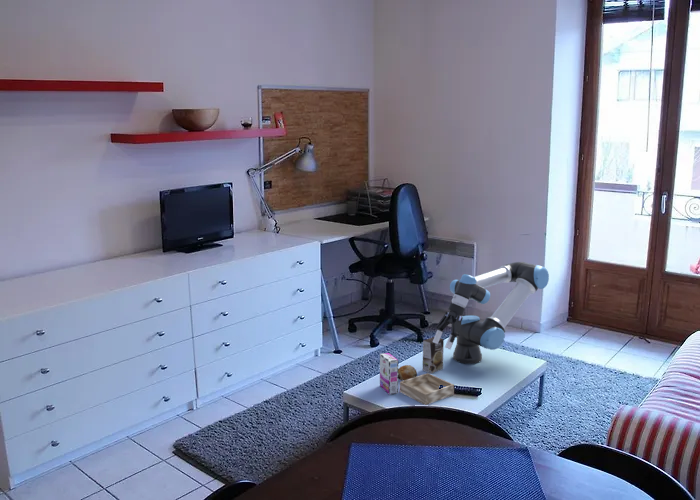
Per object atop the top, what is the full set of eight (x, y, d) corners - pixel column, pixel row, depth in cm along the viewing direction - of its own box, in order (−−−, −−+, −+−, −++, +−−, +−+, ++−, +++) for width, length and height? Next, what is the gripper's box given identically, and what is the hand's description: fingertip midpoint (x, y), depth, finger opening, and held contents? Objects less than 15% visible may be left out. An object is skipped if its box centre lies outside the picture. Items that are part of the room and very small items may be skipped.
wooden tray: (427, 382, 298) (427, 372, 297) (453, 394, 284) (454, 384, 283) (399, 392, 287) (399, 382, 287) (425, 405, 273) (425, 394, 272)
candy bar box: (398, 393, 286) (398, 360, 283) (389, 395, 284) (389, 361, 281) (388, 384, 296) (388, 352, 293) (379, 386, 295) (379, 353, 291)
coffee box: (431, 374, 308) (432, 343, 305) (422, 370, 313) (422, 340, 310) (443, 369, 314) (444, 339, 311) (434, 365, 319) (434, 336, 315)
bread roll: (411, 389, 300) (419, 375, 298) (392, 379, 301) (399, 365, 299) (413, 380, 309) (420, 367, 307) (395, 371, 310) (402, 358, 308)
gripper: (440, 299, 310) (423, 338, 308) (464, 305, 286) (446, 347, 284) (452, 304, 312) (436, 343, 310) (477, 311, 288) (459, 353, 287)
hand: (441, 345), depth 297 cm, fingers open, 13 cm apart
